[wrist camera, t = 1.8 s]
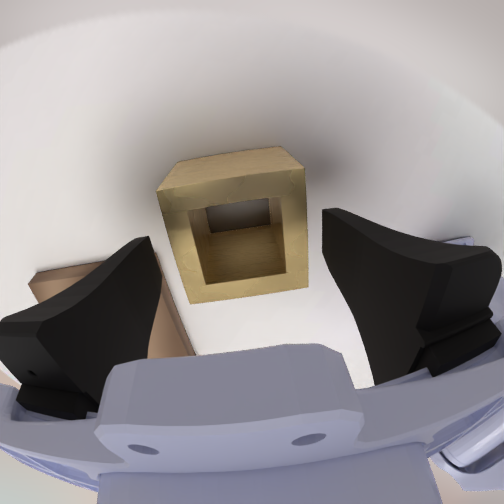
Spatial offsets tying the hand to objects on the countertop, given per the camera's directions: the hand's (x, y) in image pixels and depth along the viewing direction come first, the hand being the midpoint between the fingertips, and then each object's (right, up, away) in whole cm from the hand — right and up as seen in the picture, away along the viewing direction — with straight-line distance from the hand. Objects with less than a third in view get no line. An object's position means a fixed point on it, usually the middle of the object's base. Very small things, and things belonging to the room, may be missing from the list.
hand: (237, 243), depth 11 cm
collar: (0, +3, +4) cm, 5 cm away
